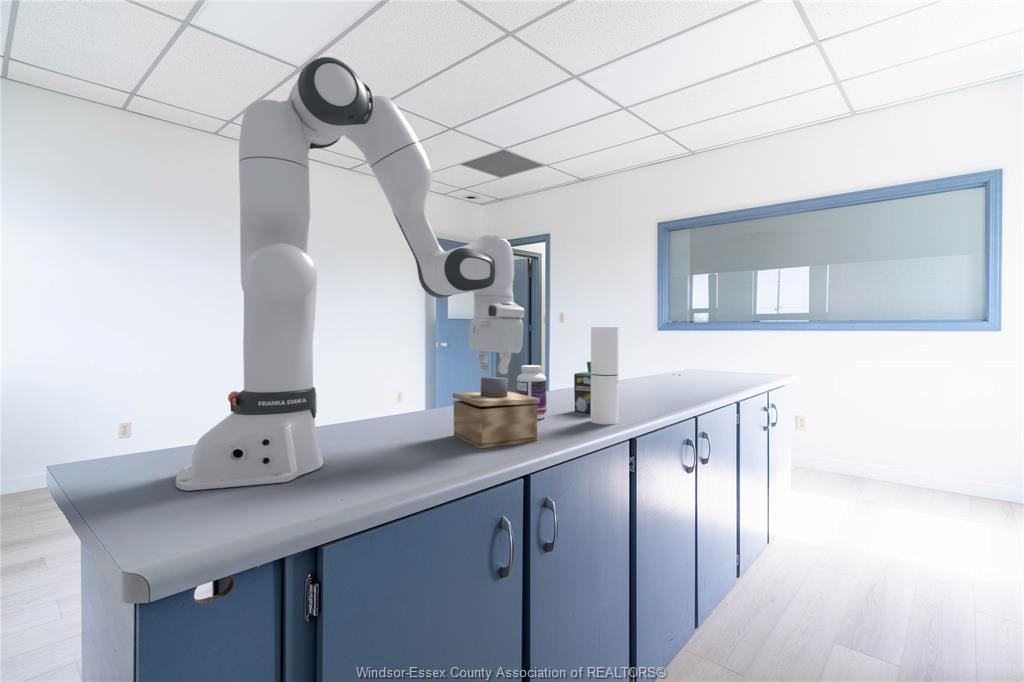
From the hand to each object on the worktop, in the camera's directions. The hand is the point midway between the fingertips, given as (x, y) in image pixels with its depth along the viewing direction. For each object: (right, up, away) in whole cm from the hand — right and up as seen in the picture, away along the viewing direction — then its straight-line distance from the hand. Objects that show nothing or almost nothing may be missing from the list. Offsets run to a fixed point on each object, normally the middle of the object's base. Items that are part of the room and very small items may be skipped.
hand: (492, 372), depth 111 cm
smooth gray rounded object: (0, -5, 0) cm, 5 cm away
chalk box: (+29, -14, +36) cm, 48 cm away
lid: (0, -6, 0) cm, 6 cm away
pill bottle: (+10, -15, +25) cm, 31 cm away
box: (0, -15, +1) cm, 15 cm away
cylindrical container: (+29, -15, +20) cm, 38 cm away
